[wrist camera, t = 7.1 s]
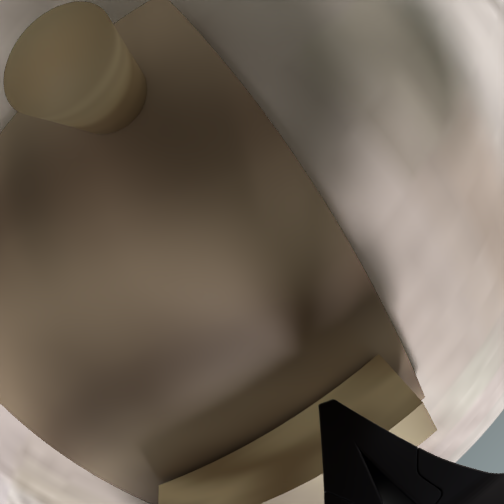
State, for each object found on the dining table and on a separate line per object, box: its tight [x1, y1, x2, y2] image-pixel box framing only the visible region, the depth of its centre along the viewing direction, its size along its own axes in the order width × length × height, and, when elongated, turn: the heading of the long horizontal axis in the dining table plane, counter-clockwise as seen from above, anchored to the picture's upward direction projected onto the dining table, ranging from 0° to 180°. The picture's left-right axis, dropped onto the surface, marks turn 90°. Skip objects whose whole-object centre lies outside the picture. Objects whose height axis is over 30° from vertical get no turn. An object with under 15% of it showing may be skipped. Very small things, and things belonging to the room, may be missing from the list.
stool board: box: [0, 0, 425, 504], centre depth 8 cm, size 20×16×5 cm
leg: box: [158, 354, 437, 504], centre depth 9 cm, size 12×3×3 cm, turn 128°
